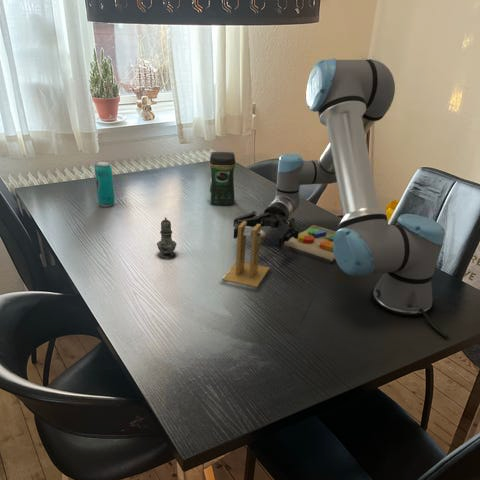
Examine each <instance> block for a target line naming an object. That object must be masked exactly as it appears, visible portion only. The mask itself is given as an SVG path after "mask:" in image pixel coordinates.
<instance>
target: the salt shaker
mask: <svg viewBox="0 0 480 480" xmlns="http://www.w3.org/2000/svg"><path fill="white" fill-rule="evenodd" d="M159 234H160V240H159V241H157V242H156V246H157V249H158V250H159V252H158V254H157V255H158V257H159V258H160V259H164V260H170V259H174V258H175V257H176V256H177V252H175V250H176V246H177V242H176V241H175V240H173V237H172V234H173V230H172V223H171V221H170V220H169V219H168V217H166V216H165V217H164V219H162V220H161V221H160V231H159Z"/></svg>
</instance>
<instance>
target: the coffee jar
mask: <svg viewBox="0 0 480 480" xmlns="http://www.w3.org/2000/svg"><path fill="white" fill-rule="evenodd" d="M236 164H237V163H236V155H235V153H234V152H233V151H211V153H210V157H209V162H208V166H209V168H210V182H209V183H210V184H209V192H208V193H209V195H208V201H209V203H210V204H212V205H218V206H229V205H232V204H234V203H235V197H236V196H235V185H234V184H235V183H234V170H235V168H236Z"/></svg>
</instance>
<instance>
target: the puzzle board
mask: <svg viewBox="0 0 480 480" xmlns="http://www.w3.org/2000/svg"><path fill="white" fill-rule="evenodd" d="M336 232H337V230H336V231H335V230H332V229H328V228H325V227H321V226H318V225H311V226H309V227H308V228H307V229H306V230H304V231H302V232H299V234H298V239H295V238H294V237H292V238H291V239H290V240H289V241H285V242H284V244H283V245H284V246H287V247H290V248H293V249H296V250H299V251H302V252H305V253H308V254H312V255H314V256H316V257H317V256H318V257H321V258H324V259H325V260H329V261H328V263H332V262H334V260H335V257H334V253H333V244H334V242H333V238H334V235H335V233H336Z"/></svg>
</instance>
